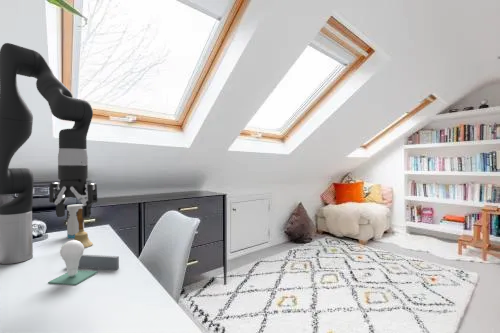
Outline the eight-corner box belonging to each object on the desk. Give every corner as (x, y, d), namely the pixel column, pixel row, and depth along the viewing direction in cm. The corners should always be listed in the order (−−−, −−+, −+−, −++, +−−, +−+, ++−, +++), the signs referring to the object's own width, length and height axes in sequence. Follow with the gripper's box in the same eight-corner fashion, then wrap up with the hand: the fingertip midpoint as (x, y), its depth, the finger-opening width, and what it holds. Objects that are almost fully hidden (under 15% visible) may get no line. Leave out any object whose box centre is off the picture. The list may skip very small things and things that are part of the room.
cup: (87, 234, 132) (86, 204, 131) (77, 238, 125) (76, 206, 125) (74, 234, 132) (74, 204, 132) (63, 238, 126) (63, 206, 125)
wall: (67, 266, 91) (67, 255, 91) (70, 265, 92) (70, 253, 92) (116, 269, 88) (116, 257, 88) (118, 268, 89) (118, 256, 89)
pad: (48, 283, 78) (48, 282, 78) (72, 271, 87) (72, 269, 87) (75, 285, 77) (75, 283, 77) (97, 272, 86) (97, 271, 86)
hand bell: (76, 250, 108) (75, 210, 108) (65, 247, 112) (65, 209, 112) (96, 244, 115) (96, 207, 115) (86, 242, 119) (86, 206, 119)
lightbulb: (73, 281, 78) (72, 244, 78) (55, 279, 80) (54, 243, 79) (89, 273, 84) (88, 238, 84) (72, 271, 86) (71, 237, 85)
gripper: (41, 163, 79) (41, 219, 79) (85, 164, 77) (85, 220, 77) (62, 163, 86) (62, 214, 87) (103, 164, 84) (103, 215, 85)
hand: (73, 217), depth 82 cm, fingers open, 8 cm apart
